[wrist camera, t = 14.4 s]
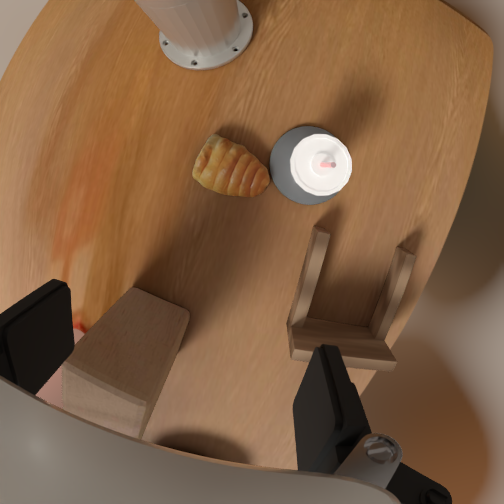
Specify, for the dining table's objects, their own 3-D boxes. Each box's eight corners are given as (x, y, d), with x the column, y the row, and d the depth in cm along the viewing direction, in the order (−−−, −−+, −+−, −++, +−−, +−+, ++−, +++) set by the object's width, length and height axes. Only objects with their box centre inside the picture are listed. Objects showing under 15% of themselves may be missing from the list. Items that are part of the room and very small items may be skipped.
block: (131, 282, 43) (58, 357, 23) (193, 309, 43) (149, 403, 24) (120, 334, 45) (60, 414, 26) (175, 358, 46) (136, 453, 27)
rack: (313, 225, 39) (326, 242, 31) (405, 248, 40) (436, 269, 31) (286, 323, 43) (290, 359, 35) (373, 337, 44) (392, 371, 35)
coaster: (278, 118, 36) (278, 118, 35) (353, 138, 36) (355, 138, 35) (262, 194, 38) (261, 194, 38) (336, 212, 39) (337, 212, 38)
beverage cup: (274, 159, 37) (280, 155, 23) (313, 131, 35) (340, 113, 22) (303, 198, 38) (324, 217, 24) (341, 170, 37) (382, 175, 23)
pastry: (278, 162, 38) (279, 162, 34) (255, 209, 39) (254, 214, 36) (211, 132, 37) (205, 129, 33) (190, 179, 39) (182, 181, 35)
